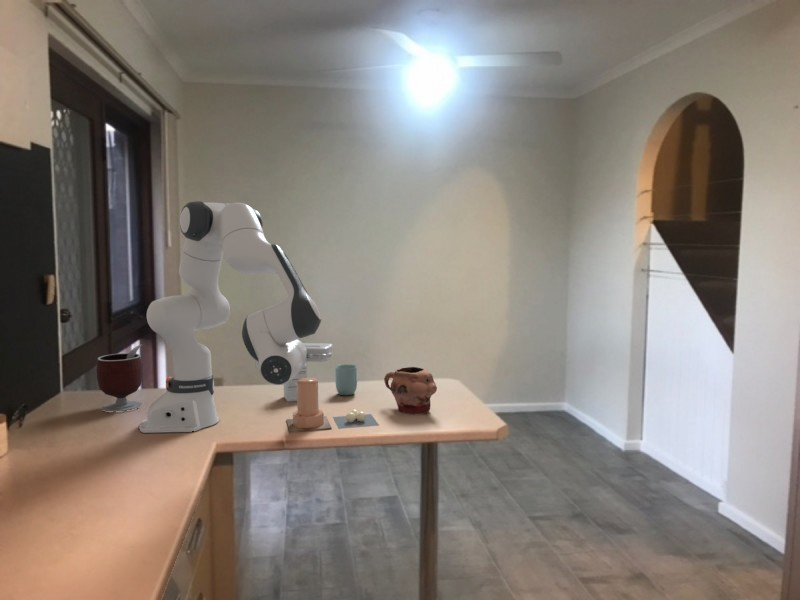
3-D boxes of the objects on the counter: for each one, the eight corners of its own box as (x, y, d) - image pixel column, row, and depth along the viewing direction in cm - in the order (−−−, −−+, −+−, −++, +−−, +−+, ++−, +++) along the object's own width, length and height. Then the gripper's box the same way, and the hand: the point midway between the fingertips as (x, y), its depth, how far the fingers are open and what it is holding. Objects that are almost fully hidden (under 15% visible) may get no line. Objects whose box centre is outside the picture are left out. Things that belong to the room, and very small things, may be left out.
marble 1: (350, 421, 189) (350, 411, 189) (348, 418, 192) (348, 408, 192) (360, 420, 190) (360, 410, 190) (358, 417, 193) (358, 408, 192)
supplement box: (283, 396, 221) (282, 361, 220) (304, 395, 223) (303, 359, 222) (286, 402, 214) (285, 365, 213) (308, 400, 216) (307, 364, 215)
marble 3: (357, 423, 187) (356, 413, 187) (355, 420, 190) (355, 410, 189) (366, 422, 188) (366, 412, 187) (365, 419, 191) (364, 410, 190)
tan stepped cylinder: (294, 429, 180) (293, 384, 179) (292, 420, 189) (290, 377, 188) (325, 426, 183) (324, 382, 181) (321, 418, 191) (320, 376, 190)
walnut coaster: (289, 434, 179) (289, 431, 179) (286, 422, 190) (286, 419, 190) (331, 431, 182) (331, 427, 181) (326, 419, 193) (326, 416, 193)
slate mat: (338, 430, 182) (338, 428, 182) (332, 418, 194) (332, 417, 194) (379, 427, 185) (379, 425, 185) (371, 416, 197) (371, 414, 196)
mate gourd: (115, 415, 199) (112, 353, 197) (89, 409, 206) (86, 349, 204) (157, 404, 212) (154, 345, 210) (131, 399, 219) (128, 342, 217)
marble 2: (346, 424, 186) (346, 414, 186) (345, 421, 189) (344, 411, 189) (356, 423, 187) (356, 413, 187) (354, 420, 190) (354, 410, 189)
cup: (359, 391, 227) (358, 364, 226) (355, 397, 220) (355, 369, 219) (337, 391, 228) (337, 364, 227) (333, 396, 220) (333, 368, 219)
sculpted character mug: (373, 411, 202) (372, 368, 200) (393, 402, 212) (392, 362, 210) (427, 420, 191) (427, 375, 190) (446, 411, 202) (446, 368, 200)
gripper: (330, 344, 157) (337, 335, 171) (248, 343, 157) (261, 333, 171) (330, 369, 158) (337, 357, 171) (249, 368, 158) (262, 356, 172)
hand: (298, 345), depth 171 cm, fingers open, 8 cm apart
